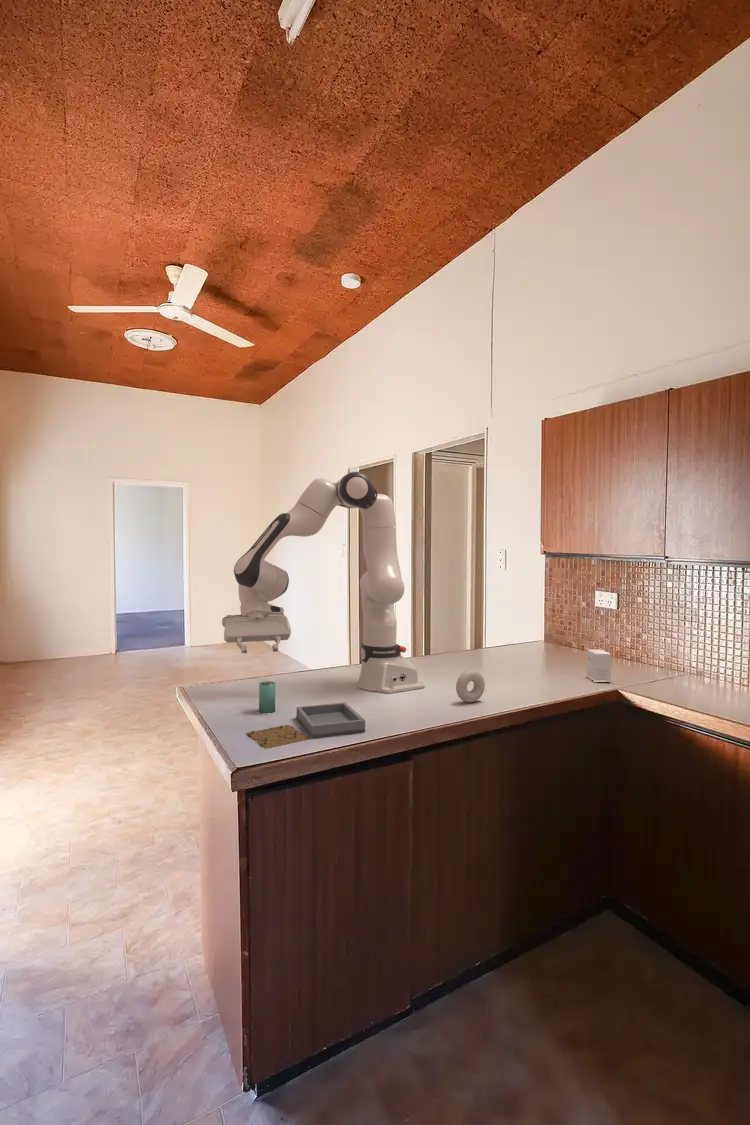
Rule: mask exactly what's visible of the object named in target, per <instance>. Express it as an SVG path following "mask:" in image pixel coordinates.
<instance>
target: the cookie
mask: <svg viewBox="0 0 750 1125" xmlns="http://www.w3.org/2000/svg"><path fill="white" fill-rule="evenodd" d="M245 734H247V735H248V736H247V735H246V736H247V737H249V736H250V737H251V738H252V739H251V738H250V737H249V738H250V739H251V740H253V739H254V740H255V741H257V742H258V743H259V744H260V745H261V746H260V745H259V744H258V743H257V742H256V743H257V744H258V745H259V746H260V747H262V746H263V747H264V748H265V749H264V748H263V747H262V748H263V749H264V750H267V749H266V748H269V749H273V748H278V747H281V746H286V745H290V744H291V745H292V744H295V743H300V742H303V741H304V742H305V741H308V740H310V738H309V735H305V734H304V733H302V732H300V731H299V730H297V728H294V726H292V725H290V724H285V725H279V726H276V727H275V726H274V727H269V728H265V729H259V730H252V731H249V732H246V733H245ZM254 740H253V741H254ZM255 741H254V742H255ZM277 746H278V747H277ZM272 747H273V748H272Z"/></svg>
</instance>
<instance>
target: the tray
mask: <svg viewBox="0 0 750 1125" xmlns="http://www.w3.org/2000/svg"><path fill="white" fill-rule="evenodd" d="M295 709H296V710H295V711H296V712H295V713H296V714H295V715H296V719H297V721H298V722H299V724H300V725H301V726H302V728H303V729H304V730H305V732H306V733H307V734H308V737H310V738H311V739H319V738H326V737H333V736H334V737H335V736H342V735H343V736H344V735H352V734H353V735H354V734H361V733H365V732H366V720H365V719H364V718H363V717H362V716H361V715H360V714H359V713H358V712H357V711H355V709H353V708H352V707H351V706H350V704H348V703H347V702H344V701H343V702H334V703H325V704H315V705H305V706H303V705H302V706H296V708H295Z"/></svg>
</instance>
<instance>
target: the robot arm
mask: <svg viewBox="0 0 750 1125" xmlns="http://www.w3.org/2000/svg"><path fill="white" fill-rule="evenodd" d="M393 503H394V502H393V500H392V498H391V497H390V496H388V495H386V494H383V493H378V490H376V487H375V485H374V484H373V482H372V480H370V477H368V476H367V475H366V474H364V473H363V472H359V471H352V472H348V473H346V474H345V475H343V476H342V477H341V478H340V479H339V480H338V481H337V482H332V481H330V480H329V479H327V478H322V477H318V478H315V479H313V480H312V481H311V482H310V483H309V484H308V486H307V487H306V488H305V489H304V491H303V492H302V494H301V495H300V496H299V498H298V500H297V502H295V505H294V506H293V507H292V508H291V509H289V511H287V512H284V513H283V512H282V513H280V514H279V515H278V516H276V517H275V518H274V519H273V520H272V521H271V523H270V524H269V525H268V526H267V527H266V529H265V530H264V531H263V532H262V533H261V534H260V535H259V537H258V538H257V540H256V541H255V542H254V543H253V544H252V546H251V547H250V548H249V549H248V550H247V551H246V552H245V553H244V554H243V555H242V556H240V558H239V559H238V560H237V561H236V562H235V565H234V566H233V574H234V578H235V580H236V582H237V584H238V600H239V601H240V606H239V607H240V609H239V610H240V614H233V615H232V614H228V615H226V616H224V617H222V619H221V625H222V627H223V628H224V632H223V640H224V642H226V643H228V644H230V643H236V646H237V647H238V648H239V649H240V653H241V654H247V653H248V648H247V645H244V643H250V642H270V641H272V642H275V643H274V644H272V647H271V648H272V652H273V653H275V652H278V651H279V644H280V643H281V641H287V640H289V639H290V637H291V634H292V629H291V626H290V622H289V620H288V618H287V616H286V615H284V614H285V609H284V608H283V607H281V606H278V605H273V604H271V603H270V604H269V602H272V601H274V600H276V599H278V598H279V597H281V596H282V595H283V594H285V593H286V592H287V590H288V588H289V583H290V582H289V581H290V580H289V574H288V572H287V571H286V570H284V569H283V568H280V567H278V566H277V565H274V564H273V563H271V562H268V561H266V560H265V559H266V557H267V556H268V555H269V554H270V552H271V551H272V550H273V549H274V547H275V546H276V545H277V544H278V543H279V541H281V540H282V539H283V538H285V537H291V536H292V537H302V538H304V537H310V536H313V535H314V536H315V535H316V534H317V533H319V532H320V530H322V528H323V527H324V525H325V523H326V521H328V520H327V519H329V516H330V515H331V513H332V512H333V510H334V509H335V508H336V507H337V506H339V507H342V508H346V509H358V511H359V512H360V514H361V517H362V518H361V519H362V545H363V546H362V550H363V556H364V558H365V564H366V572H364V574H362V575H361V577H360V580H359V588H360V595H361V598H360V599H361V608H362V616H363V617H362V618H363V630H362V631H363V633H362V634H363V635H362V636H363V637H362V640H363V642H362V644H361V650H360V656H361V657H360V658H361V669H360V673H359V674H360V675H359V678H358V682H357V685H356V686H357V687H358V688H359V689H362V690H366V691H370V692H380V693H384V694H393V693H399V692H405V691H406V692H407V691H410V690H411V691H412V690H417V689H424V688H425V682H424V681H423V680H421V679H420V678H419V675H418V674H419V673H418V671H417V668H416V666H415V665H414V664H413V663H412V662H410V661H409V660H408V659H406V658H405V657H404V656H403V655H402V653H406V652H407V647H406V646H404V645H399V644H398V643H397V629H398V628H397V626H398V623H397V622H398V621H397V618H396V613H395V607H394V604H395V603H398V602H399V601H400V600H401V599H402V598H403V596H404V594H405V583H404V582H403V578H402V574H401V567H400V566H401V565H400V561H399V557H398V551H397V550H398V547H397V524H396V523H397V522H396V521H397V519H396V513H395V506H394V504H393Z"/></svg>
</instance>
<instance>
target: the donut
mask: <svg viewBox="0 0 750 1125" xmlns="http://www.w3.org/2000/svg"><path fill="white" fill-rule="evenodd" d="M471 682H473V687H472V689H471V690H468V685H469V683H471ZM485 686H486V683H485V679H484V676H483V675H482V673H480V672H479V671H478V670H476V669H467V670H465V671H464V672H462V673H461V674H460V675H459V677H458V678H457V680H456V686H455V690H456V691H455V692H456V694H457V696H458V698H459V699H460V700H461V701H463V702H465V703H470V702H471V703H474V702H476V701H477V702H478V700H479V699H480V698H481V697H482V696H483V694H484V692H485Z"/></svg>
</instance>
